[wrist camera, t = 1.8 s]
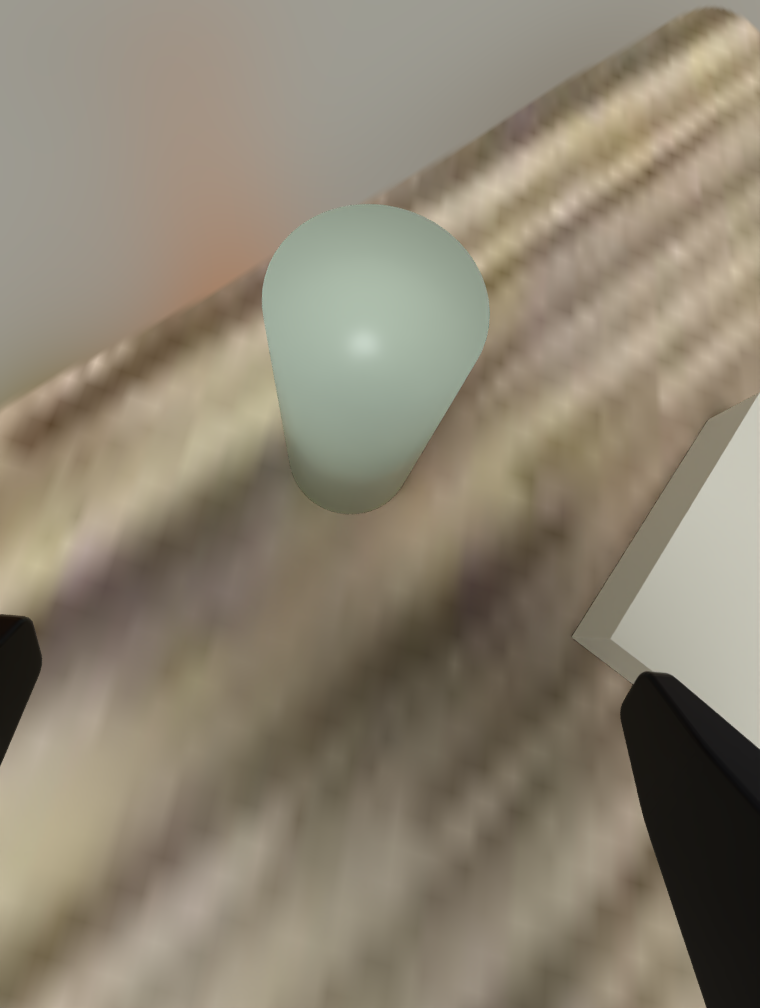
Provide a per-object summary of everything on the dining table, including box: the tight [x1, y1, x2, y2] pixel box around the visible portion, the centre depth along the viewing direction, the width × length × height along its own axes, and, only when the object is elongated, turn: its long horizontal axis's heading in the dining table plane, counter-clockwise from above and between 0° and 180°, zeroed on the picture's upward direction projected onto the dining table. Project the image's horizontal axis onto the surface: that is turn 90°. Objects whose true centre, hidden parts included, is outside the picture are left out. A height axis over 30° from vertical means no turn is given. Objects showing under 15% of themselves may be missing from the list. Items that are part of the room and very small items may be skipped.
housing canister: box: [262, 204, 490, 514], centre depth 17 cm, size 5×5×11 cm
